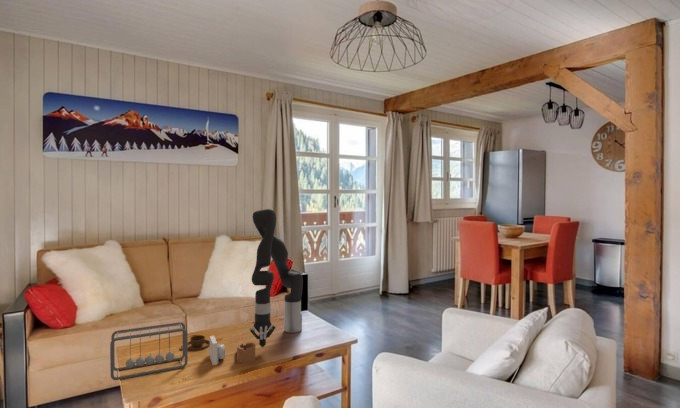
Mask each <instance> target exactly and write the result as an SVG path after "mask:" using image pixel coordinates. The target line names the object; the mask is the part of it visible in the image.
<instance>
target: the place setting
mask: <svg viewBox="0 0 680 408" xmlns="http://www.w3.org/2000/svg"><path fill="white" fill-rule="evenodd" d="M205 343H206V344H207V345H204V344H205ZM190 345H191V346H192V347H189V346H190ZM203 345H204V346H203ZM208 347H209V348H210V340H208V339H206V336H204V335H203V334H202V335H199V334H198V335H193V336H191V337H190V341H188V351H201V350H205V349H207V348H208ZM179 350H180V351H183V344H182V345H181V346H180V348H179Z"/></svg>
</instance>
